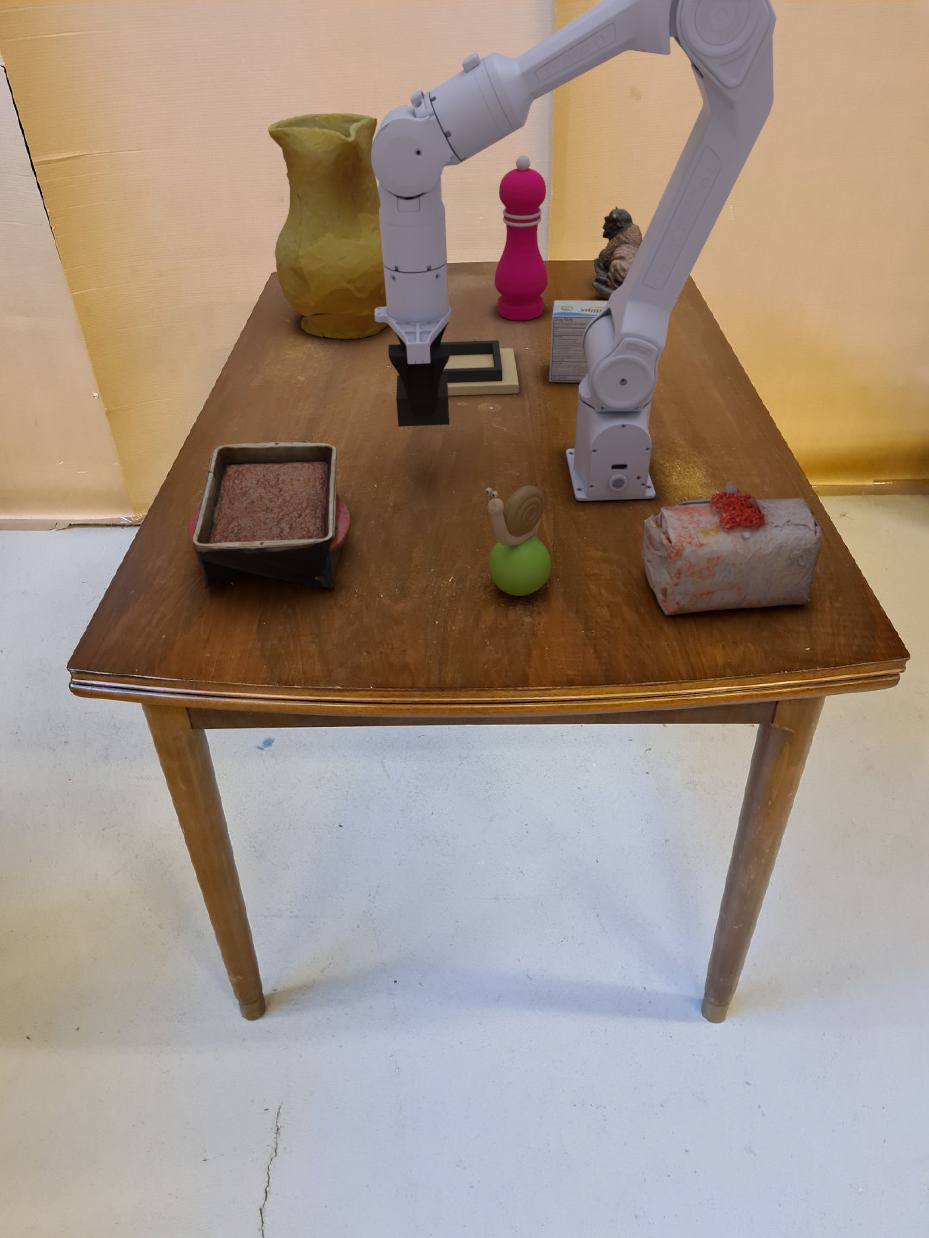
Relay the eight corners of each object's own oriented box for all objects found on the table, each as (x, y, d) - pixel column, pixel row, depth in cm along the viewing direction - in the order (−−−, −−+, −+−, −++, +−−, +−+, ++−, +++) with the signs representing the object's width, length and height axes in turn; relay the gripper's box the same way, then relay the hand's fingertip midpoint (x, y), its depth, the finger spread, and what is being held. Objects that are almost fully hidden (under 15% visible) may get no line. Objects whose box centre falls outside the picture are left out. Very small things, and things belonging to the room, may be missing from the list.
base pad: (518, 393, 108) (519, 372, 106) (418, 397, 108) (416, 376, 106) (512, 356, 116) (513, 336, 114) (419, 360, 116) (417, 339, 114)
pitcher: (275, 348, 118) (247, 133, 103) (291, 299, 133) (270, 105, 117) (406, 347, 119) (399, 133, 103) (409, 299, 133) (402, 106, 118)
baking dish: (365, 520, 92) (348, 427, 87) (345, 613, 77) (324, 506, 72) (227, 533, 93) (202, 441, 88) (180, 627, 78) (147, 523, 73)
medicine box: (613, 368, 113) (619, 300, 107) (614, 385, 109) (620, 315, 103) (549, 367, 113) (552, 298, 108) (548, 383, 110) (551, 314, 104)
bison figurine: (642, 308, 126) (650, 234, 120) (591, 308, 127) (596, 234, 120) (635, 276, 135) (642, 205, 129) (588, 276, 136) (592, 205, 129)
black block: (449, 424, 89) (448, 395, 87) (398, 427, 89) (395, 397, 87) (448, 400, 93) (446, 372, 91) (399, 402, 93) (396, 373, 91)
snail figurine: (468, 594, 80) (464, 478, 72) (517, 562, 83) (519, 448, 76) (512, 622, 77) (514, 504, 69) (562, 588, 80) (569, 472, 73)
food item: (654, 626, 76) (669, 531, 70) (633, 568, 82) (645, 475, 76) (813, 615, 77) (842, 519, 70) (781, 558, 83) (805, 465, 76)
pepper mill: (487, 306, 128) (486, 151, 115) (535, 298, 130) (539, 145, 116) (504, 325, 123) (505, 166, 110) (554, 318, 124) (561, 160, 111)
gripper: (373, 235, 86) (385, 368, 95) (366, 294, 75) (380, 439, 84) (447, 233, 86) (452, 366, 95) (451, 291, 75) (456, 435, 84)
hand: (423, 400), depth 90 cm, fingers closed on black block, 5 cm apart
